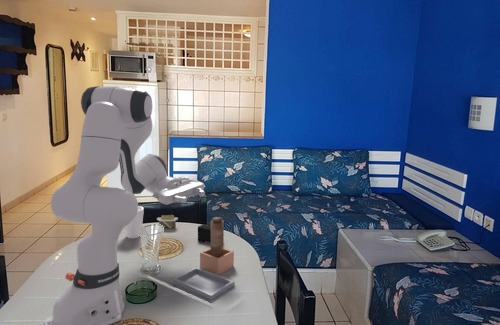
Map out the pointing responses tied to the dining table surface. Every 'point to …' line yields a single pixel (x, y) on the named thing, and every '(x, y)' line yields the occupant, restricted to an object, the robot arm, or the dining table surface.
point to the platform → (167, 221)
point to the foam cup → (135, 224)
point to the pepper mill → (217, 237)
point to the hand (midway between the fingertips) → (194, 197)
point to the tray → (203, 283)
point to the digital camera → (204, 233)
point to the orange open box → (216, 261)
